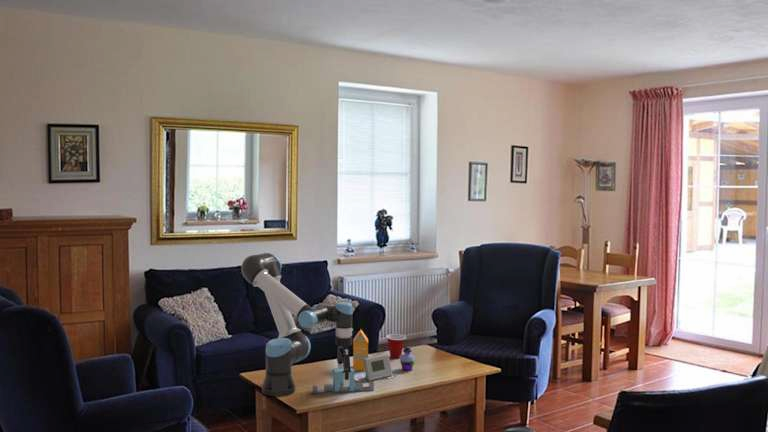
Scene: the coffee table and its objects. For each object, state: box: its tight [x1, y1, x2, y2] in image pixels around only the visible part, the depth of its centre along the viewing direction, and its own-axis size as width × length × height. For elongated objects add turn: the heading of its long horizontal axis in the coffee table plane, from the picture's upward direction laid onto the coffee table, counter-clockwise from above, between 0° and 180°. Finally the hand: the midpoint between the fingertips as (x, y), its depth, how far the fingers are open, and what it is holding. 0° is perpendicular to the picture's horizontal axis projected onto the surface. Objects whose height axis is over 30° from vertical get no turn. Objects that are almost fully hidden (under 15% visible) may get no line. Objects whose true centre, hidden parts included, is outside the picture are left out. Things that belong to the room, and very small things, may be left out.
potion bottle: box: [399, 345, 416, 372], centre depth 348 cm, size 9×9×12 cm
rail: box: [312, 380, 375, 395], centre depth 310 cm, size 28×3×4 cm, turn 104°
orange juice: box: [352, 328, 369, 370], centre depth 349 cm, size 8×9×20 cm
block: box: [332, 367, 355, 391], centre depth 310 cm, size 9×4×9 cm, turn 105°
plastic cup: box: [386, 333, 407, 360], centre depth 372 cm, size 11×11×12 cm
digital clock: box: [363, 353, 393, 382], centre depth 334 cm, size 16×9×11 cm, turn 121°
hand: (343, 382), depth 310 cm, fingers open, 13 cm apart
